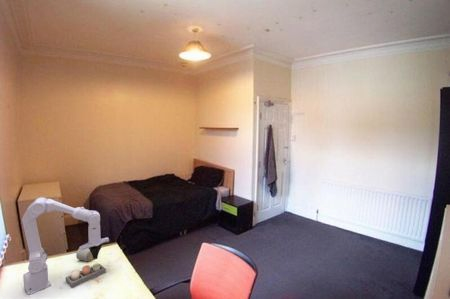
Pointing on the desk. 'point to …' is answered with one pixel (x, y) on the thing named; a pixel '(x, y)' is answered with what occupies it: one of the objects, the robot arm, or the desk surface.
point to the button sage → (96, 267)
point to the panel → (85, 277)
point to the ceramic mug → (84, 255)
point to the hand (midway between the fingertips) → (95, 258)
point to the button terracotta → (85, 270)
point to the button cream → (75, 275)
